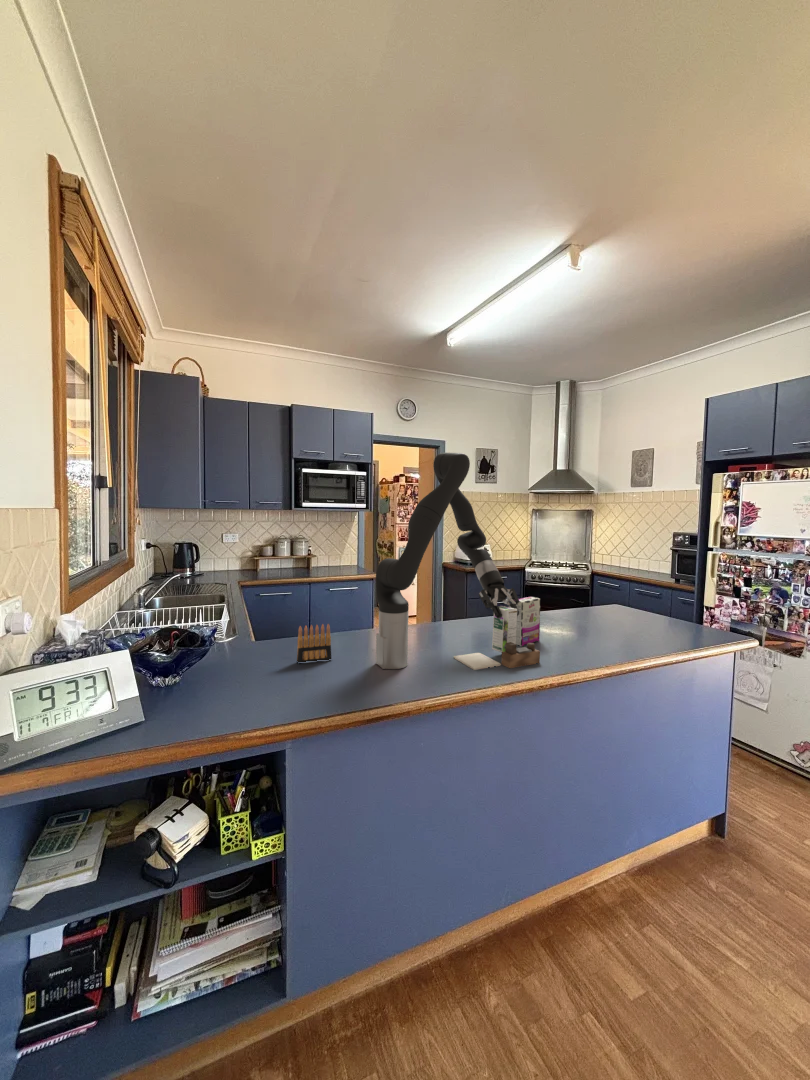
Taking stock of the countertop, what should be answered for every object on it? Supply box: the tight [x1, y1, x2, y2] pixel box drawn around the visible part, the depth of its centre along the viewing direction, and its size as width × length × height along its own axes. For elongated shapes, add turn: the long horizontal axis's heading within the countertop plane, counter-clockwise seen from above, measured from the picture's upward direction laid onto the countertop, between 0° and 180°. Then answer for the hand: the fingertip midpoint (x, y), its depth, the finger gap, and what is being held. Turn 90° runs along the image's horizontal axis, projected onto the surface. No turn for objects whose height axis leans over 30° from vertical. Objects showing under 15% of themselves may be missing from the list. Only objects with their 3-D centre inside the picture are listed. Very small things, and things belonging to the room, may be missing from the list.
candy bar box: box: [516, 596, 541, 647], centre depth 166 cm, size 11×5×16 cm, turn 129°
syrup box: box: [491, 605, 517, 653], centre depth 150 cm, size 6×6×14 cm
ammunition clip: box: [296, 623, 332, 662], centre depth 142 cm, size 11×2×12 cm, turn 111°
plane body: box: [500, 642, 541, 669], centre depth 143 cm, size 12×4×7 cm, turn 115°
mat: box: [453, 652, 502, 671], centre depth 144 cm, size 10×12×1 cm
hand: (508, 616), depth 148 cm, fingers closed on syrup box, 6 cm apart
